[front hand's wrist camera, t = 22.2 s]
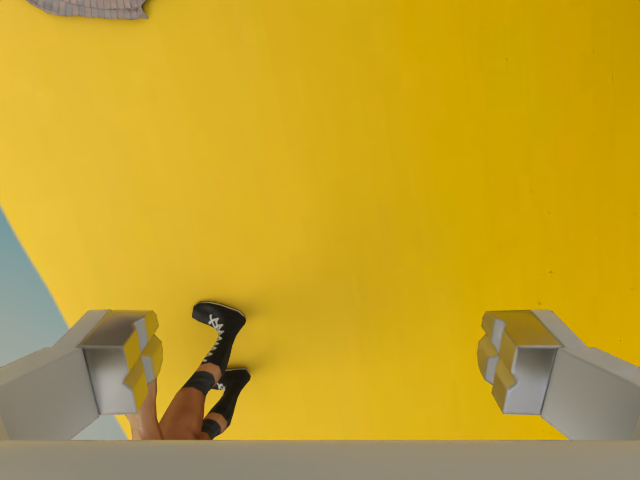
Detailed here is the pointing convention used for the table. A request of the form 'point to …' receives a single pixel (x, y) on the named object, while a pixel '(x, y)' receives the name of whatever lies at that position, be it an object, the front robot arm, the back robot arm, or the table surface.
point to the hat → (93, 8)
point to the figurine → (198, 387)
